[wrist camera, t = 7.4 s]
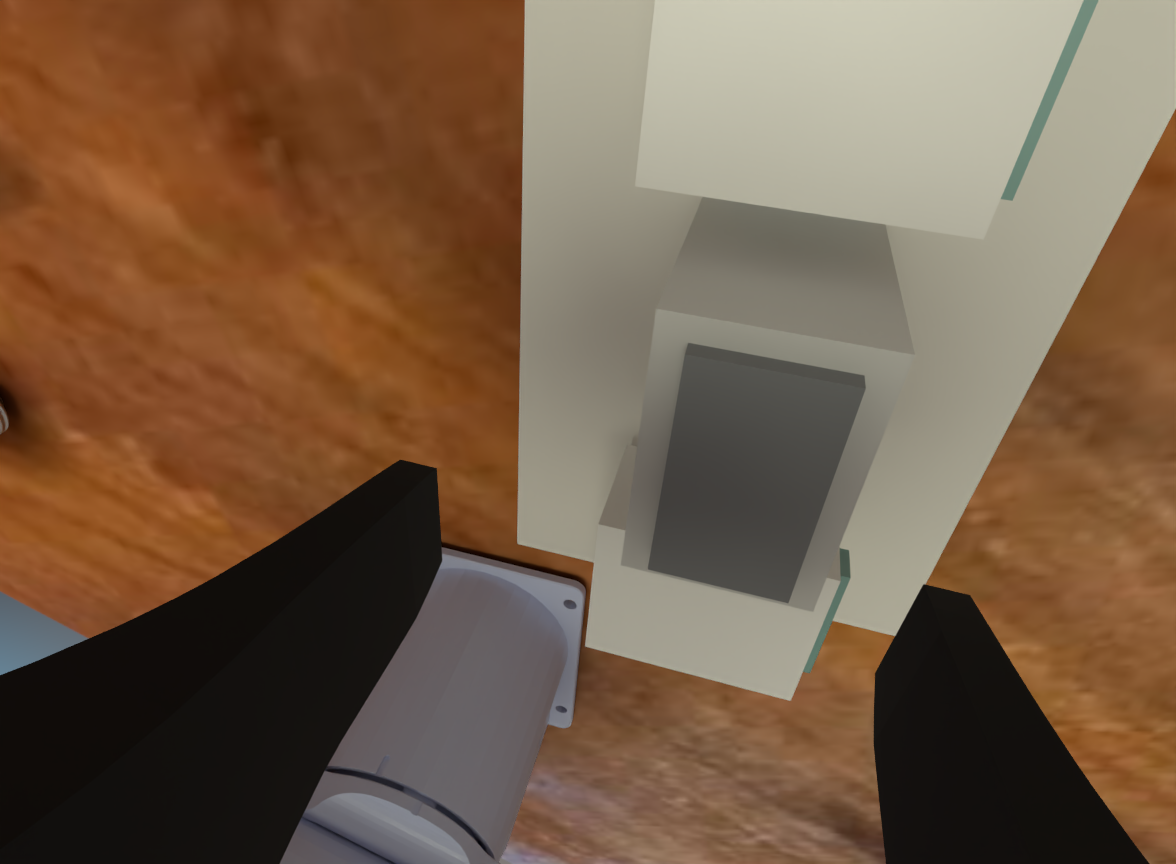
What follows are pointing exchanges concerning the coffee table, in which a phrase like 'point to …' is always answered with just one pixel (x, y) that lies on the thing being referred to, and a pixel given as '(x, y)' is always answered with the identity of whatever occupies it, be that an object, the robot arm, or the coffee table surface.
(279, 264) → the coffee table surface
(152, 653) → the robot arm
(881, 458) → the board
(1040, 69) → the mounted modules
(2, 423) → the lightbulb
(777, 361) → the block
